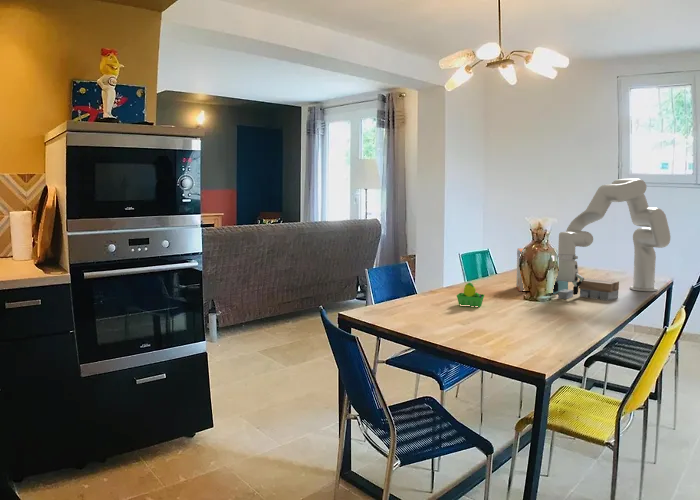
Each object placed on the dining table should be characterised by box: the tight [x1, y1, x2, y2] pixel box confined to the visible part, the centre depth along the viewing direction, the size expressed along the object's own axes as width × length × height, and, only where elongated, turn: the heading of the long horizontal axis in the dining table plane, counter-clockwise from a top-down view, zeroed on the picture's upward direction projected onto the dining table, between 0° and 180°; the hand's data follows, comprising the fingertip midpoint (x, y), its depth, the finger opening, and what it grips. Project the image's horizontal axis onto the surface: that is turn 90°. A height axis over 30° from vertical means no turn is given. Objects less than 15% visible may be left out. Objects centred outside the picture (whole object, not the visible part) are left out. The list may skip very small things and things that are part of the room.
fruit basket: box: [456, 282, 485, 308], centre depth 245 cm, size 11×9×11 cm
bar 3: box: [589, 290, 601, 300], centre depth 260 cm, size 9×4×4 cm, turn 132°
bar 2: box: [579, 289, 590, 299], centre depth 264 cm, size 9×4×4 cm, turn 133°
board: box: [578, 277, 620, 293], centre depth 260 cm, size 9×15×4 cm, turn 42°
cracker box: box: [515, 247, 524, 292], centre depth 282 cm, size 14×6×21 cm, turn 168°
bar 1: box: [557, 288, 574, 300], centre depth 261 cm, size 8×4×3 cm, turn 138°
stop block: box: [552, 281, 569, 295], centre depth 275 cm, size 14×3×6 cm, turn 132°
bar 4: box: [599, 290, 619, 301], centre depth 256 cm, size 9×4×4 cm, turn 126°
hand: (565, 293), depth 261 cm, fingers open, 9 cm apart
